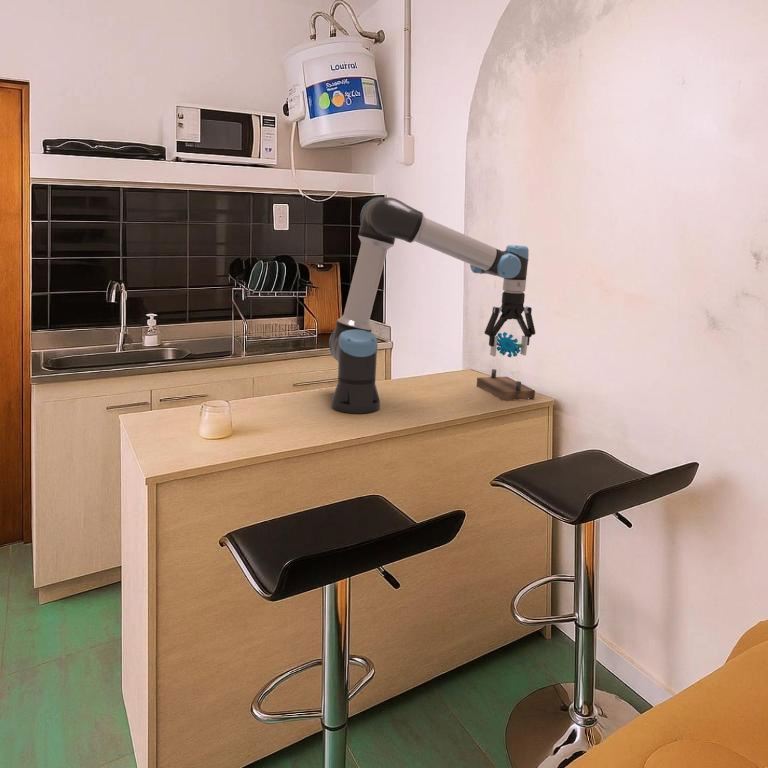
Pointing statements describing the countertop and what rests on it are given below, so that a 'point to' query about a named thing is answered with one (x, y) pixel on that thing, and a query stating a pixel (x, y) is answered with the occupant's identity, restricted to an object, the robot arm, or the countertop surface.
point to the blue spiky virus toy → (508, 344)
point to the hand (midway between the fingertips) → (508, 355)
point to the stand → (505, 387)
